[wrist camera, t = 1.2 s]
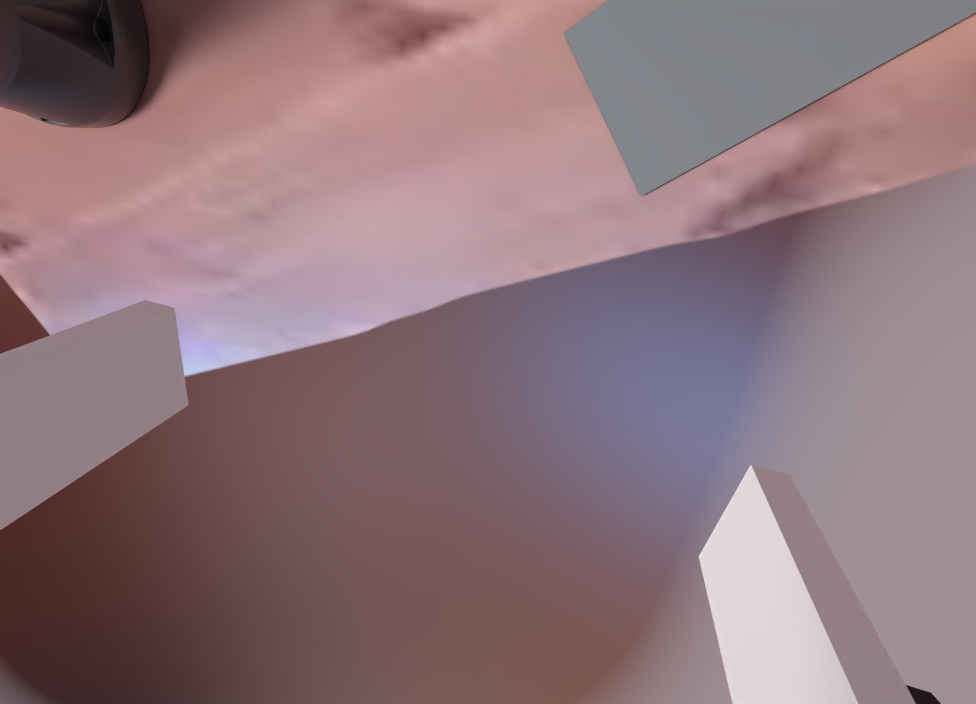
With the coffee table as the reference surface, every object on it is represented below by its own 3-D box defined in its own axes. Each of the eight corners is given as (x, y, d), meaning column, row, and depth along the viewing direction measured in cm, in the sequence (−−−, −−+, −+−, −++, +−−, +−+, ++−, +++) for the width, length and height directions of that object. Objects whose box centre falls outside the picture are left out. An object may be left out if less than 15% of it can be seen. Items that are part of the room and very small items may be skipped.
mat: (564, 34, 29) (563, 33, 28) (963, -262, 21) (967, -267, 21) (640, 195, 32) (640, 196, 31) (1017, -12, 24) (1022, -14, 23)
